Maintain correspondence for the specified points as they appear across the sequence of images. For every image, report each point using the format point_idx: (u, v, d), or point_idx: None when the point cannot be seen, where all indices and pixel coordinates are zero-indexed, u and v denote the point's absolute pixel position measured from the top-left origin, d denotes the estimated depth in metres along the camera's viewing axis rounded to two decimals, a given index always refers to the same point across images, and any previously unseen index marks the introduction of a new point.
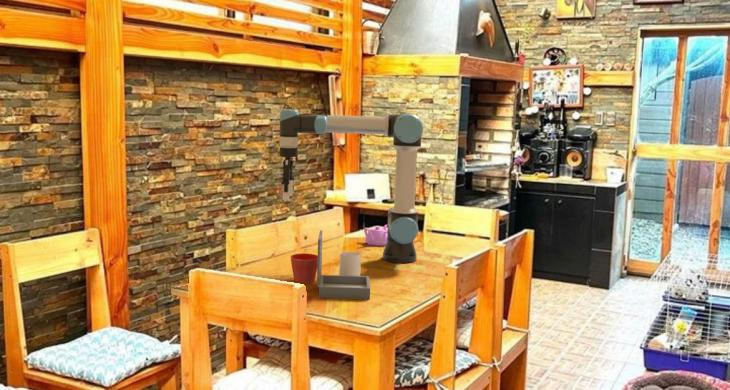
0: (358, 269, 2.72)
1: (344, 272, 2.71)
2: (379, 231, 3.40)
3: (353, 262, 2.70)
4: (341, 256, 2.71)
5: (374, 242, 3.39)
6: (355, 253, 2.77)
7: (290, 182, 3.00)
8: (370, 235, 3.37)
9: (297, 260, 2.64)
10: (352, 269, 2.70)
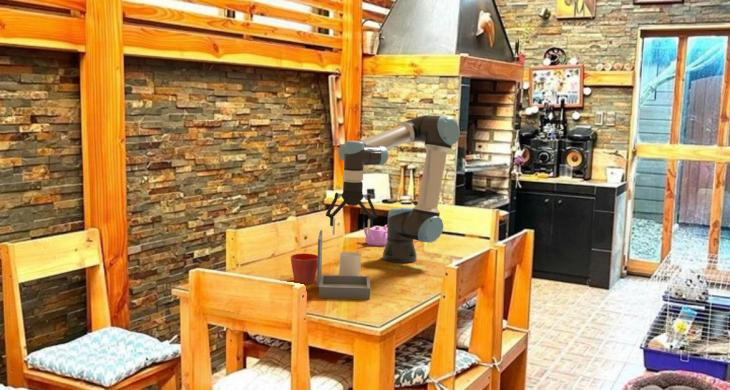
0: (358, 269, 2.72)
1: (344, 272, 2.71)
2: (379, 231, 3.40)
3: (353, 262, 2.70)
4: (341, 256, 2.71)
5: (374, 242, 3.39)
6: (355, 253, 2.77)
7: (368, 221, 2.73)
8: (370, 235, 3.37)
9: (297, 260, 2.64)
10: (352, 269, 2.70)
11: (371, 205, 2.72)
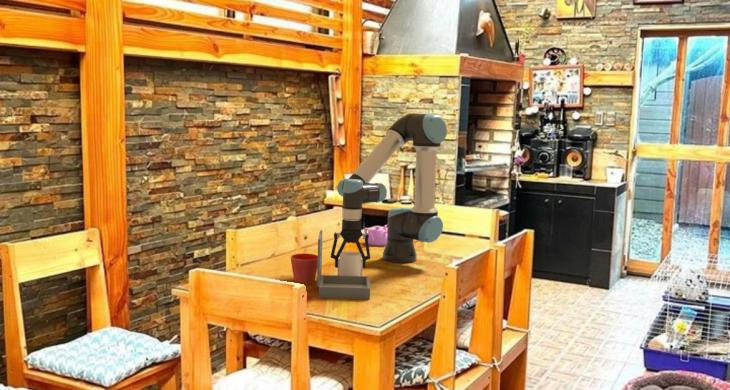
0: (358, 269, 2.72)
1: (344, 272, 2.71)
2: (379, 231, 3.40)
3: (353, 262, 2.70)
4: (341, 256, 2.71)
5: (374, 242, 3.39)
6: (355, 253, 2.77)
7: None
8: (370, 235, 3.37)
9: (297, 260, 2.64)
10: (353, 269, 2.70)
11: (367, 245, 2.74)
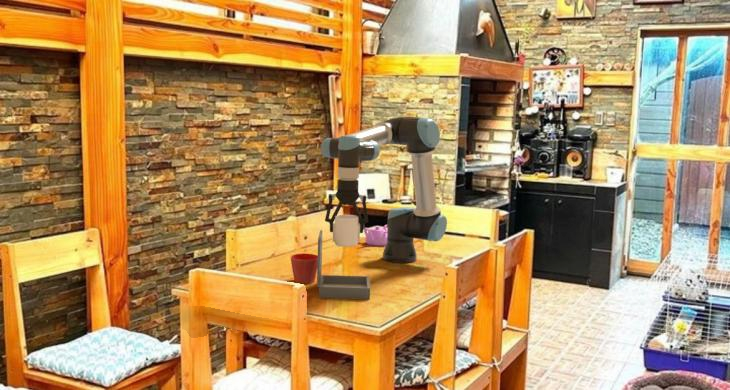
0: (355, 233, 2.49)
1: (339, 237, 2.48)
2: (379, 231, 3.40)
3: (350, 225, 2.47)
4: (337, 219, 2.49)
5: (374, 242, 3.39)
6: (352, 216, 2.54)
7: None
8: (370, 235, 3.37)
9: (297, 260, 2.64)
10: (349, 233, 2.48)
11: (364, 208, 2.51)
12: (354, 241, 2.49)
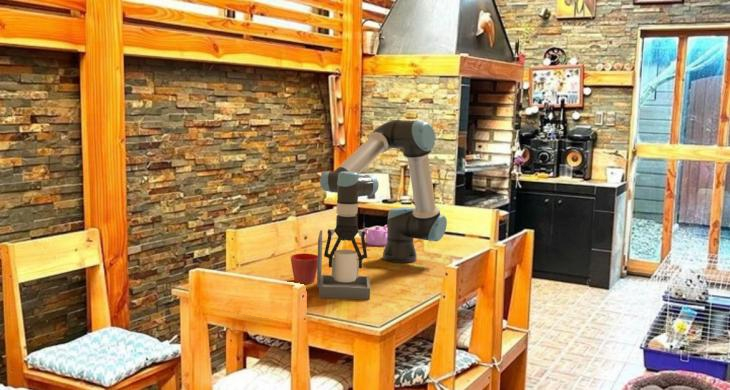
0: (354, 269, 2.51)
1: (338, 272, 2.50)
2: (379, 231, 3.40)
3: (349, 261, 2.49)
4: (336, 255, 2.50)
5: (374, 242, 3.39)
6: (351, 251, 2.56)
7: None
8: (370, 235, 3.37)
9: (297, 260, 2.64)
10: (348, 269, 2.49)
11: (363, 243, 2.53)
12: (353, 277, 2.51)
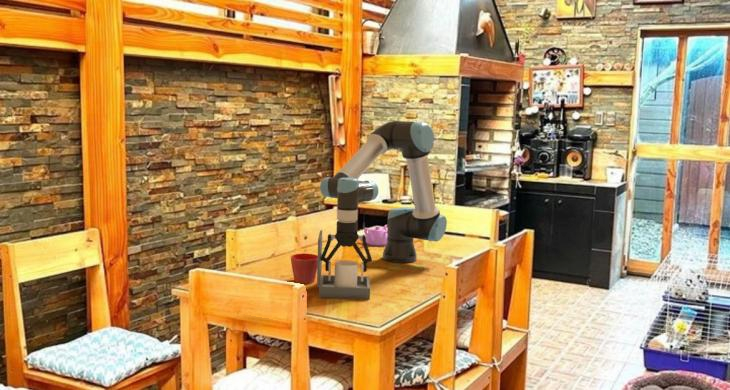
0: (355, 280, 2.51)
1: (339, 283, 2.50)
2: (379, 231, 3.40)
3: (349, 272, 2.49)
4: (336, 266, 2.51)
5: (374, 242, 3.39)
6: (351, 262, 2.56)
7: (361, 265, 2.55)
8: (370, 235, 3.37)
9: (297, 260, 2.64)
10: (348, 280, 2.50)
11: (366, 248, 2.53)
12: None
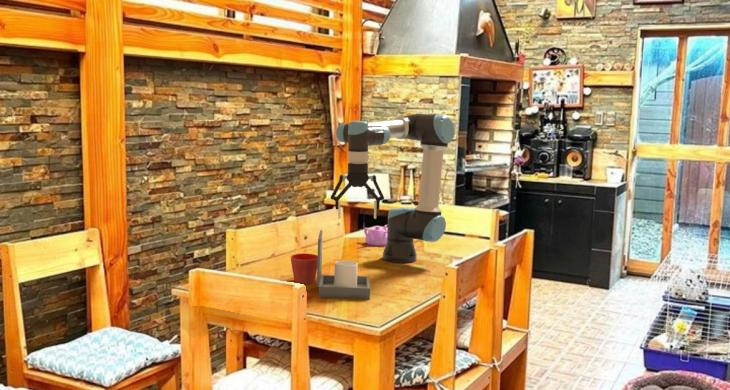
0: (354, 280, 2.51)
1: (339, 283, 2.50)
2: (379, 231, 3.40)
3: (349, 272, 2.49)
4: (336, 266, 2.51)
5: (374, 242, 3.39)
6: (351, 262, 2.56)
7: (374, 203, 2.66)
8: (370, 235, 3.37)
9: (297, 260, 2.64)
10: (348, 280, 2.50)
11: (377, 186, 2.64)
12: None
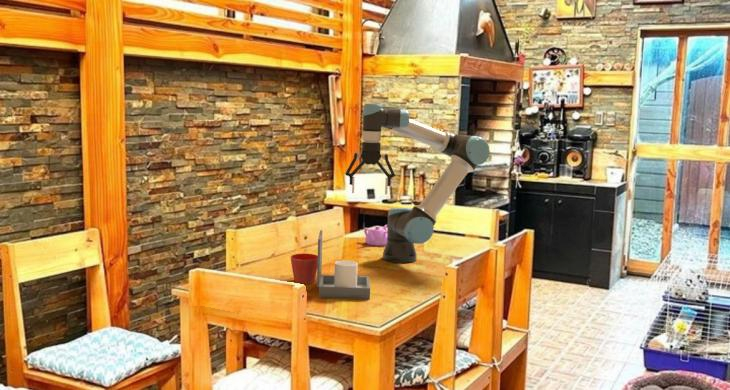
0: (354, 280, 2.51)
1: (339, 283, 2.50)
2: (379, 231, 3.40)
3: (349, 272, 2.49)
4: (336, 266, 2.51)
5: (374, 242, 3.39)
6: (351, 262, 2.56)
7: None
8: (370, 235, 3.37)
9: (297, 260, 2.64)
10: (348, 280, 2.50)
11: (389, 164, 2.86)
12: None
